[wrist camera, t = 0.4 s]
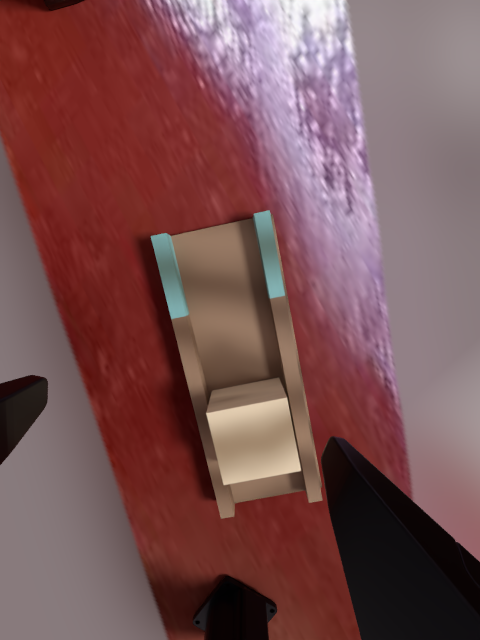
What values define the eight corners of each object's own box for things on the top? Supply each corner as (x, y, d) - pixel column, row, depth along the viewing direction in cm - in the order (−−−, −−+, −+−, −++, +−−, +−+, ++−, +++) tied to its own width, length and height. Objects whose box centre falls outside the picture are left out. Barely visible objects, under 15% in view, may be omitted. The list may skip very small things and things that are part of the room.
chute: (320, 482, 25) (326, 499, 23) (218, 500, 26) (216, 519, 24) (271, 215, 22) (274, 209, 20) (154, 241, 22) (145, 237, 20)
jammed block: (291, 439, 24) (301, 470, 20) (226, 451, 24) (223, 485, 20) (279, 377, 23) (287, 397, 19) (212, 390, 23) (206, 413, 19)
